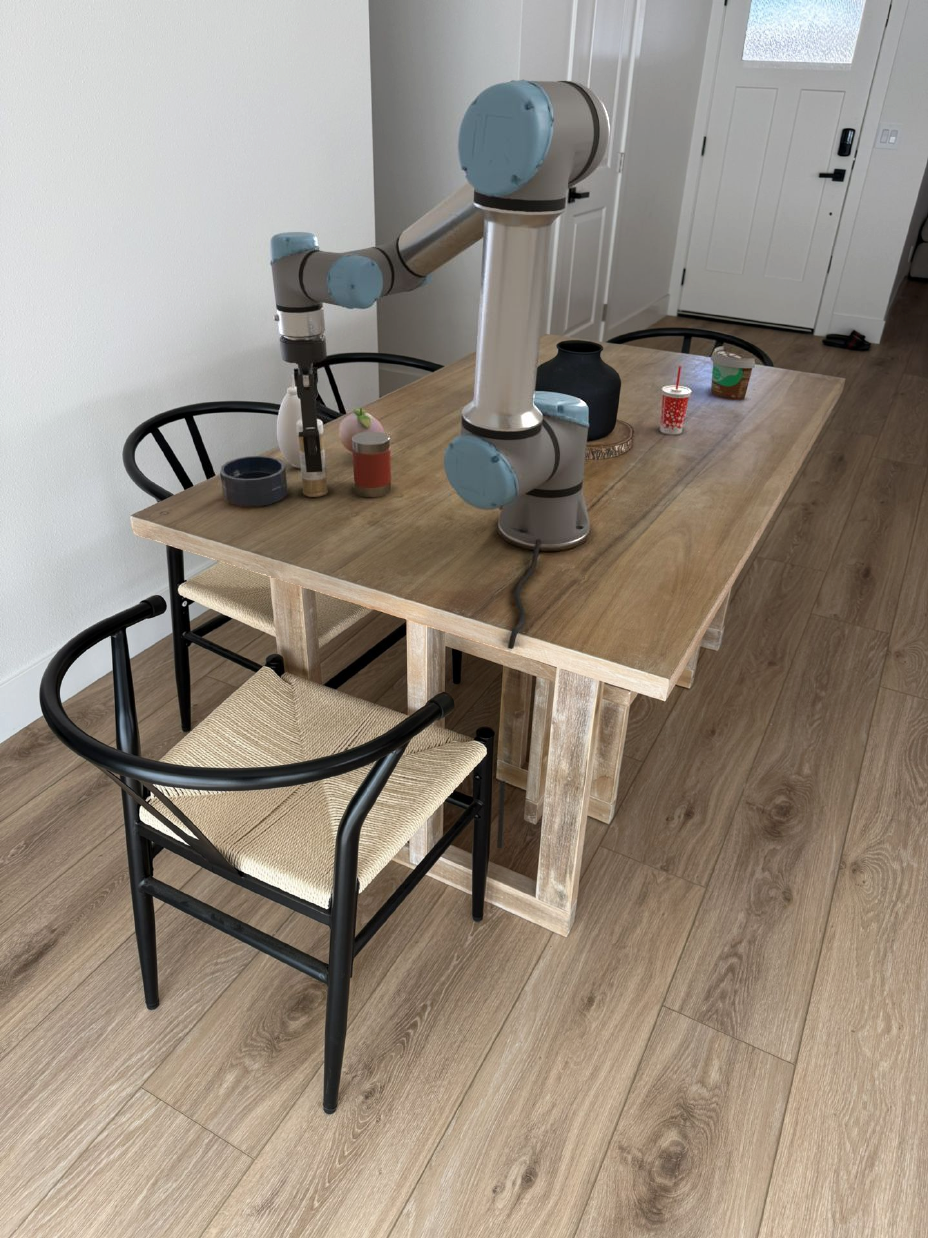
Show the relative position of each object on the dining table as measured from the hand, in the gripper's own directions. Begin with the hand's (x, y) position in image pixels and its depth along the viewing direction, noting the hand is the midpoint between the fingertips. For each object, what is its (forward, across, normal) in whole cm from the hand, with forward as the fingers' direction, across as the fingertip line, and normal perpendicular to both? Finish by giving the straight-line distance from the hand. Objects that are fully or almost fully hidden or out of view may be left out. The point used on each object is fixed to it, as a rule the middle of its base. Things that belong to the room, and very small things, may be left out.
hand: (313, 457), depth 157 cm
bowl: (+7, 0, -11) cm, 13 cm away
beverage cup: (+8, -23, +76) cm, 80 cm away
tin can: (+7, 0, +10) cm, 12 cm away
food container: (+8, -45, +97) cm, 107 cm away
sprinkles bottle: (+7, 0, 0) cm, 7 cm away
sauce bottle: (+7, -13, -3) cm, 15 cm away
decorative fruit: (+7, -16, +9) cm, 20 cm away
